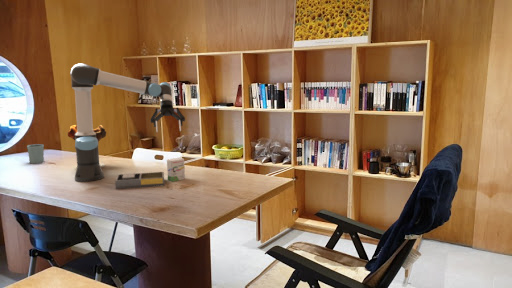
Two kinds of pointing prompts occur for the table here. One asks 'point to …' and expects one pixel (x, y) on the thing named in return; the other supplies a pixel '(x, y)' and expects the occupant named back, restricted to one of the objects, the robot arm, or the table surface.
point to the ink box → (175, 169)
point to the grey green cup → (36, 153)
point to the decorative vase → (99, 131)
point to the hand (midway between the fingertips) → (168, 130)
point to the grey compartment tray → (139, 180)
